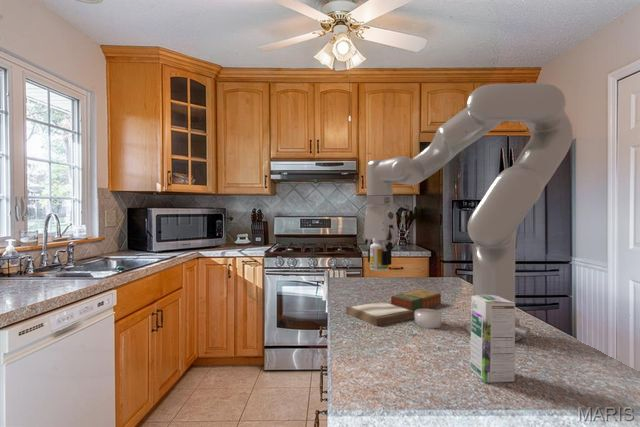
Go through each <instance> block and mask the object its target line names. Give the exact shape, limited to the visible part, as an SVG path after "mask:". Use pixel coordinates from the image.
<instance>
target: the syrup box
mask: <svg viewBox="0 0 640 427" xmlns="http://www.w3.org/2000/svg"><path fill="white" fill-rule="evenodd" d="M470 298H471V304H470V308H471V309H470V310H471V311H470V318H471V320H470V323H471V334H470V371H471V372H473V373H474V374H475V375H476V376H477V377H478V378H479V379H480V380H482V381H483V383H485V384H488V383H489V384H493V383H495V384H496V383H510V382H511V383H512V382H513V383H514V382H515V370H516V369H515V364H516V363H515V362H516V361H515V360H516V359H515V358H516V346H515V345H516V341H515V318H516V301H515V302H511V301H508V300H506V299H504V298H501V297H499V296H494V295H475V296H473V295H471V297H470Z"/></svg>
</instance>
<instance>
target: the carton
mask: <svg viewBox="0 0 640 427" xmlns="http://www.w3.org/2000/svg"><path fill="white" fill-rule="evenodd" d="M441 297H442V296H441V292H438V291H433V290H426V289H422V288H421V289H416V290H412V291H407V292H403V293H398V294H395V295H394V294H393V295H391V297H390V304H393V305H396V306H399V307H402V308H405V309H409V310H412V311H414V313H415V310H417V309H430V308H432V307H433V308H434V307H436V306H439V305H441V304H442V302H441V301H442V298H441Z"/></svg>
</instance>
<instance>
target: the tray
mask: <svg viewBox="0 0 640 427" xmlns="http://www.w3.org/2000/svg"><path fill="white" fill-rule="evenodd" d="M345 308H346V311H345V312H346V315H348V316H351V317H354V318H356V319H358V320H361V321H364V322H365V323H369V324H371V325H373V326H376V327H378V326H383V325H388V324H394V323H398V322H402V321H409V320H411V319H415V312H414V311H412V310H409V309H405V308H402V307H399V306H396V305H393V304H391V302H390V303H389V302H387V301H383V300H382V301H381V300H380V301H375V302H374V301H373V302H369V303H363V304H357V305H351V306H346V307H345Z"/></svg>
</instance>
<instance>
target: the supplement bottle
mask: <svg viewBox="0 0 640 427" xmlns="http://www.w3.org/2000/svg"><path fill="white" fill-rule="evenodd" d="M372 241H373V242H372V243H373V244H371V245H370V263H369V270H370V271H376V272H386V271H389V265H382V251H383V246H382V242H381V241H378V240H376V239H375V238H373V240H372ZM387 244H388V243H386V245H387Z"/></svg>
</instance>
